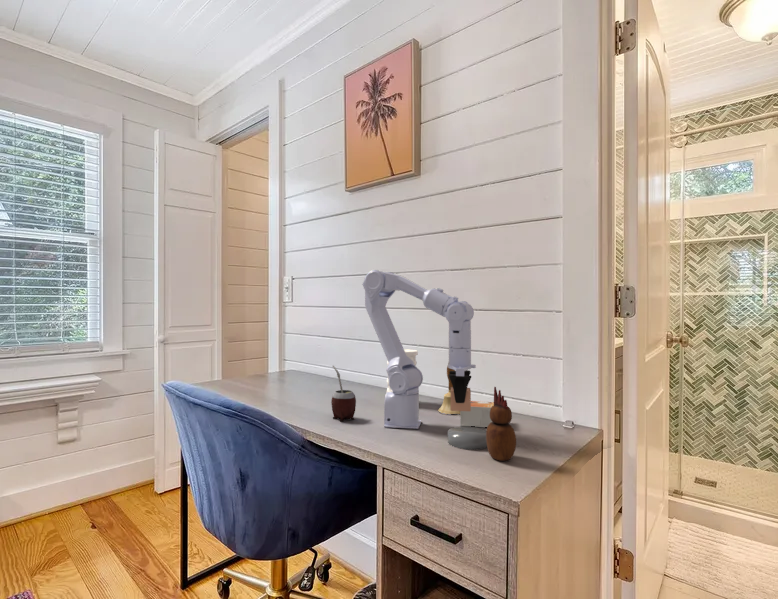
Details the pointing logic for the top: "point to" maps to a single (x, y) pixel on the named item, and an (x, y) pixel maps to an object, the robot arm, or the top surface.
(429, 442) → the top surface
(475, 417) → the small box
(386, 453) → the top surface
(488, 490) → the top surface
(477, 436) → the pedestal
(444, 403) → the hand bell
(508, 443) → the wooden figurine
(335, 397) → the mate gourd
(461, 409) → the block
